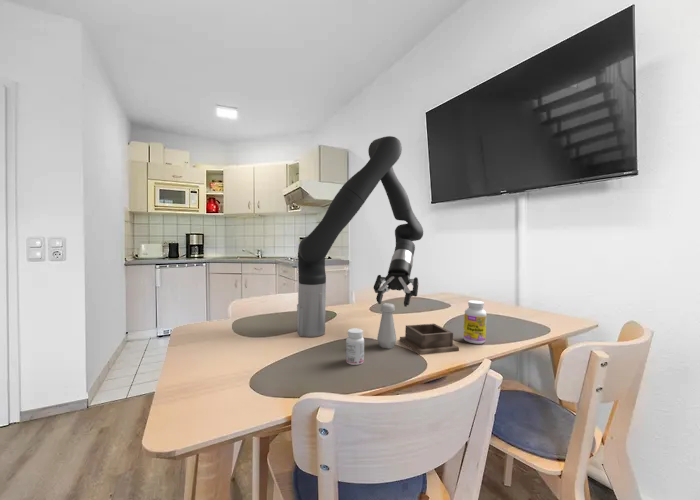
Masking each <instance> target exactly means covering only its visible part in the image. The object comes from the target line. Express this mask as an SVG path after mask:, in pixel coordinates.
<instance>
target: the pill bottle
mask: <svg viewBox="0 0 700 500" xmlns="http://www.w3.org/2000/svg"><path fill="white" fill-rule="evenodd" d="M363 336H364V330H363V329H361V328H353V327H352V328H350V329H348V330H347V337H346V342H345V345H346V348H345V350H346V351H345V362H346V363H347V364H349V365H352V366H359V365H362V364H363V363H364V361H365V338H364V337H363Z"/></svg>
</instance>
